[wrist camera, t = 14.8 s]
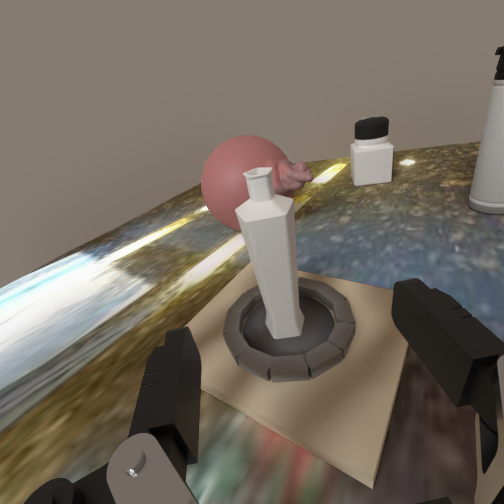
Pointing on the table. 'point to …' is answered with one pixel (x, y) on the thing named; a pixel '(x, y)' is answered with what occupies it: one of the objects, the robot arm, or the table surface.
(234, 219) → the balloon
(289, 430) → the hub board
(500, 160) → the travel mug
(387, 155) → the medicine bottle
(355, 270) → the table surface
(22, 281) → the table surface
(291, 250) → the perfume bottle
